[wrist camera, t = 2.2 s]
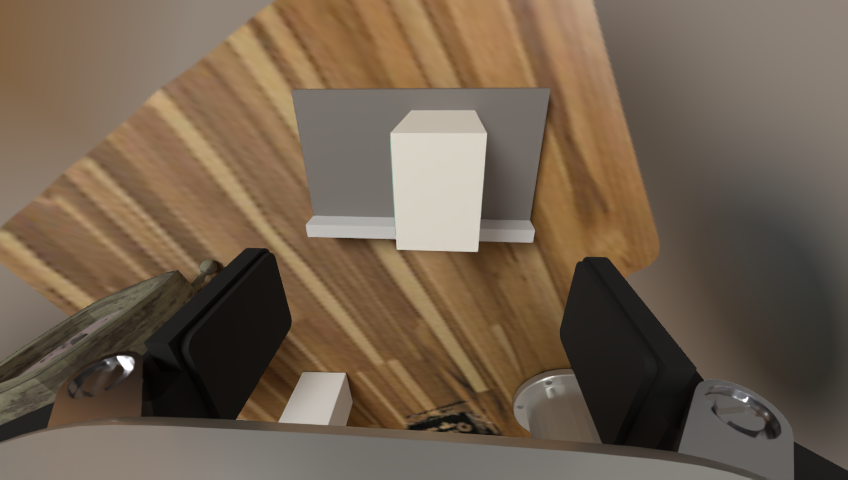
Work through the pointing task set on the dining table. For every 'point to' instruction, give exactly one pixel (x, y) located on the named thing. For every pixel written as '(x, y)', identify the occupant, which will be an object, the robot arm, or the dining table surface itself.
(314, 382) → the milk
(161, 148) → the dining table surface
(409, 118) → the carton
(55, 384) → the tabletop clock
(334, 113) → the shelf board
